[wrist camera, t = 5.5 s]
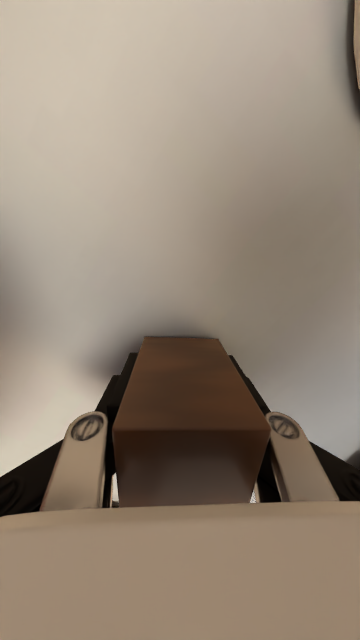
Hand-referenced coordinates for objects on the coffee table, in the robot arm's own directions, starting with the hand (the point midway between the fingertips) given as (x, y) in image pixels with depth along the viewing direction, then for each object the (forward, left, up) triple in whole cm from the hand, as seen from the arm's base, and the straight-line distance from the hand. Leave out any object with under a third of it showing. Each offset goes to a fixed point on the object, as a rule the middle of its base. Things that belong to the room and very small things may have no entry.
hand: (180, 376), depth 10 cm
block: (0, 0, -1) cm, 1 cm away
